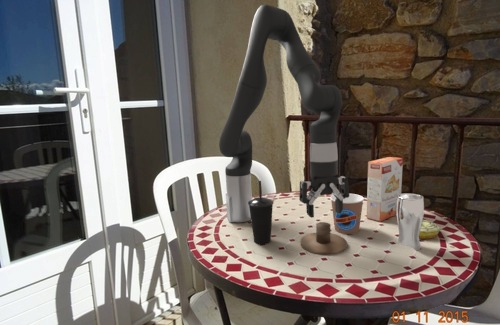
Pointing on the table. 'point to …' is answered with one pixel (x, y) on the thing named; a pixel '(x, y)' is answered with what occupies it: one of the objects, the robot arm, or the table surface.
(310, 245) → the walnut lid
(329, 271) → the table surface
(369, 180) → the cracker box
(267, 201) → the drinking cup
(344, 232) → the coffee cup
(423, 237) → the decorated donut
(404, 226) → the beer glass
